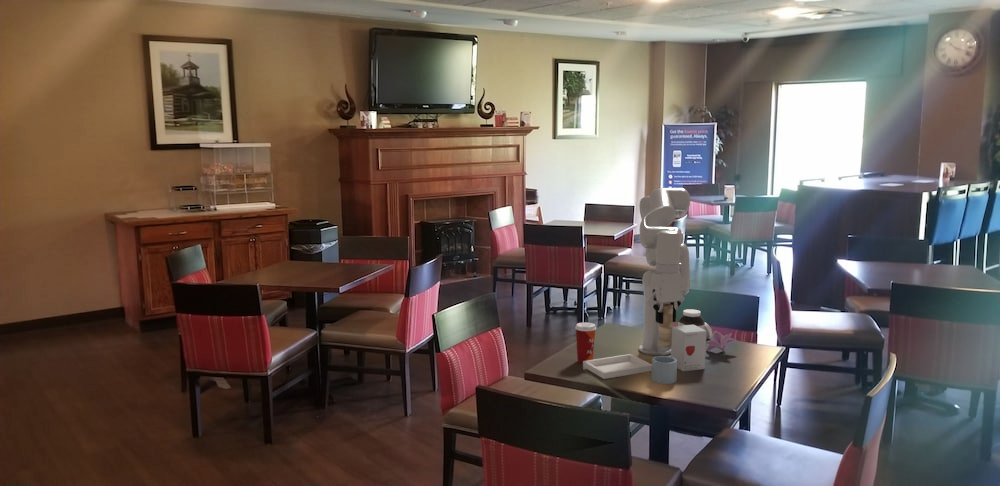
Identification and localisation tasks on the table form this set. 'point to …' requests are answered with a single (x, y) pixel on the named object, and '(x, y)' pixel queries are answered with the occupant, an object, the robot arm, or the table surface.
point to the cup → (664, 369)
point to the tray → (617, 366)
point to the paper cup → (585, 341)
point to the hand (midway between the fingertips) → (665, 321)
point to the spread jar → (695, 321)
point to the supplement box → (689, 347)
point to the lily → (719, 341)
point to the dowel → (666, 327)
